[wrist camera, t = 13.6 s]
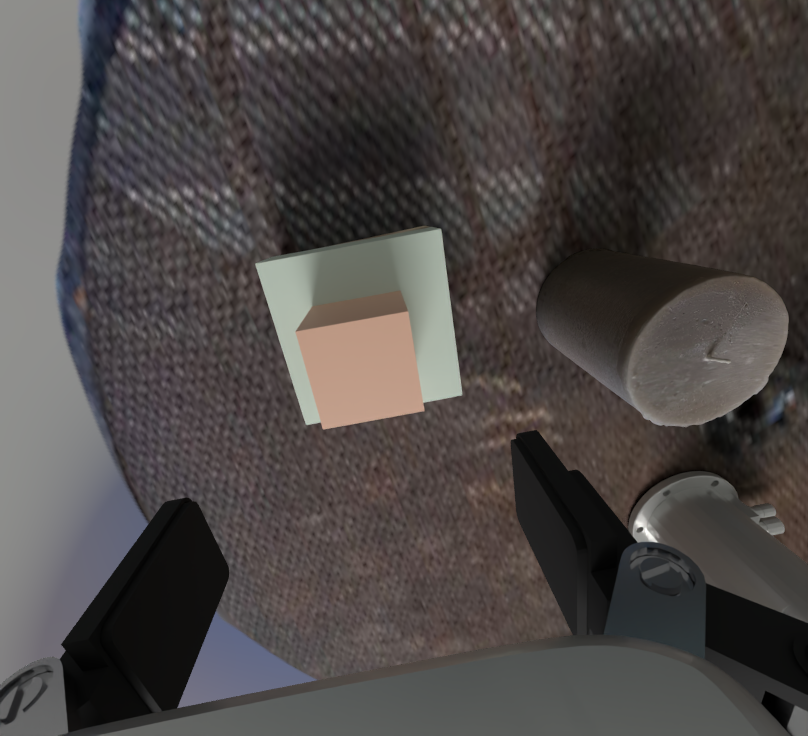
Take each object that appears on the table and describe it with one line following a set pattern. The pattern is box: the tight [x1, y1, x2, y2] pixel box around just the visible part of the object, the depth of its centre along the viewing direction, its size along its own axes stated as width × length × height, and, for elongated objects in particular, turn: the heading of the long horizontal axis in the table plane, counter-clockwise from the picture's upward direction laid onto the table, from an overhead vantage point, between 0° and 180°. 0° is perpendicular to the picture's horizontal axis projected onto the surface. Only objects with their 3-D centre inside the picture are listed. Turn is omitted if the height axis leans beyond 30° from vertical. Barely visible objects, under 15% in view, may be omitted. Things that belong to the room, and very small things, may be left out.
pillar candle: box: [536, 249, 789, 427], centre depth 28 cm, size 10×10×15 cm
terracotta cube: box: [295, 291, 424, 429], centre depth 24 cm, size 6×6×6 cm
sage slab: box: [256, 227, 462, 425], centre depth 28 cm, size 12×12×4 cm
